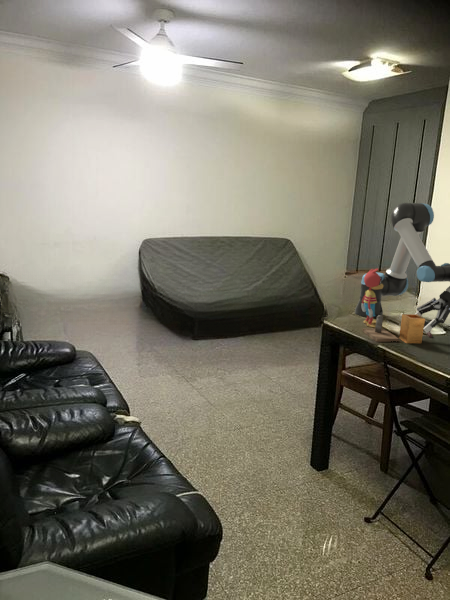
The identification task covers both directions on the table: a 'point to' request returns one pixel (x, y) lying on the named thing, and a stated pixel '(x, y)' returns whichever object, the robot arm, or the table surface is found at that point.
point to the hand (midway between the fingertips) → (417, 326)
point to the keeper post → (380, 332)
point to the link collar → (411, 328)
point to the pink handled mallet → (429, 331)
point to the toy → (371, 296)
